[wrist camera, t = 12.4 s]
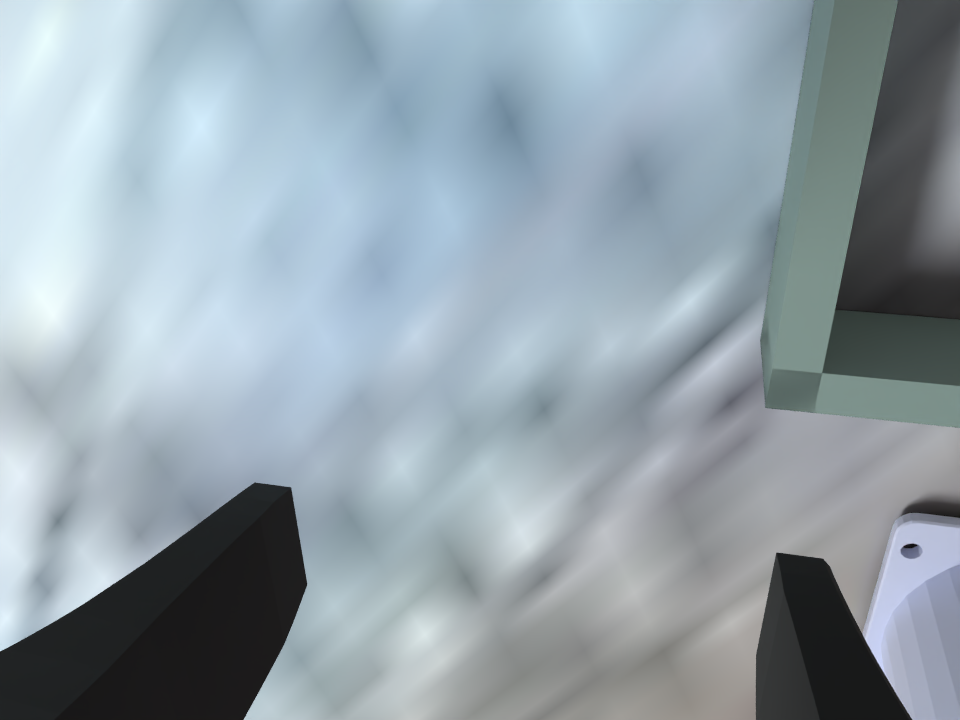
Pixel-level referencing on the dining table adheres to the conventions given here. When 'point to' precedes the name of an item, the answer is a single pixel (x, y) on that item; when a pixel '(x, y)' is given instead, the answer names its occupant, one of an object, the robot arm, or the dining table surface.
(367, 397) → the dining table surface
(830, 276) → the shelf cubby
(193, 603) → the robot arm
